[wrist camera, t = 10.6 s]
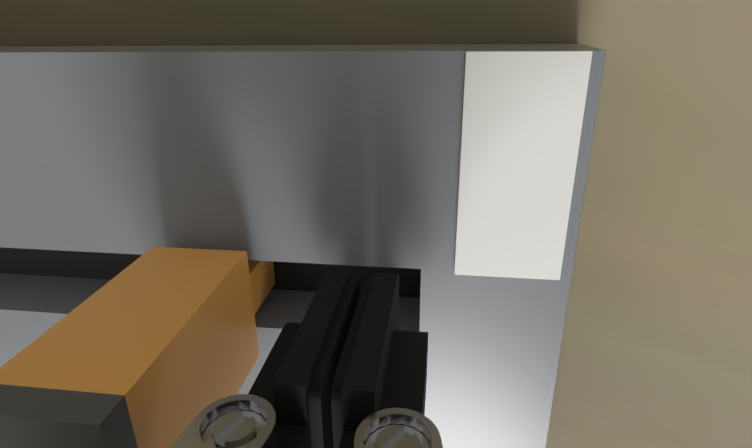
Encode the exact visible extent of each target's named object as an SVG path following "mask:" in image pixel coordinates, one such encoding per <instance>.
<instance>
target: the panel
mask: <svg viewBox="0 0 752 448" xmlns="http://www.w3.org/2000/svg"><path fill="white" fill-rule="evenodd" d="M605 55H606V50H602V49H598V48H594V47H590V46H586V45H582V44H578V43H564V44H357V45H150V46H0V368H1V367H2V366H3V365H4V364H6V363H7V362H8V361H9V360H11V359H12V358H13V357H14V356H16V355H17V354H18V353H19V352H21V351H22V350H23V349H25V348H26V347H27V346H28V345H30V344H31V343H32V342H33V341H35V340H36V339H37V338H38V337H40V336H41V335H42V334H43V333H45V332H46V331H47V330H48V329H50V328H51V327H52V326H54V325H55V324H56V323H57V322H59V321H60V320H61V319H62V318H64V317H65V316H66V315H67V314H69V313H70V312H71V311H72V310H74V309H75V308H76V307H77V306H79V305H80V304H81V303H83V302H84V301H85V300H86V299H88V298H89V297H90V296H91V295H93V294H94V293H95V292H96V291H98V290H99V289H100V288H101V287H103V286H104V285H105V284H107V283H108V282H109V281H110V280H112V279H113V278H114V277H115V276H117V275H118V274H119V273H120V272H122V271H123V270H124V269H125V268H127V267H128V266H129V265H130V264H132V263H133V262H134V261H136V260H137V259H138V258H139V257H141V256H142V255H143V254H144V253H146V252H147V251H148V250H149V249H151V248H152V247H171V248H192V249H212V250H232V251H247V257H248V260H255V261H273V265H274V275H275V284H274V286H273V287H272V289H271V290H270V292H269V294H268V295H267V297H266V298H265V300H264V301H263V303H262V304H261V306H260V308H259V309H258V311H257V312H256V314H255V323H256V331H257V339H258V348H259V356H258V358H257V360H256V361H255V363H254V365H253V367H252V369H251V370H250V372H249V374H248V376H247V378H246V379H245V381H244V383H243V385H242V387H241V388H240V390H239V392H238V394H248V393H249V391H250V389H251V387H252V385H253V384H254V382H255V380H256V378H257V376H258V374H259V372H260V370H261V368H262V367H263V365H264V363H265V361H266V359H267V357H268V355H269V353H270V351H271V349H272V348H273V346H274V344H275V342H276V340H277V338H278V336H279V334H280V332H281V331H282V329H283V327H284V325H285V324H286V323H288V322H291V323H301V322H302V320H303V318H304V316H305V314H306V312H307V310H308V308H309V306H310V303H311V301H312V299H313V297H314V295H315V293H316V291H317V289H318V287H319V285H320V283H321V280H322V278H323V276H324V274H325V272H326V271H327V270H337V271H351V274H352V277H353V278H359V280H360V294H361V291H362V288H363V284H364V281H365V279H366V278H371V279H373V277H374V274H375V273H391V274H399V330H405V331H419V332H428V357H427V380H426V399H425V414H424V416H426V417H427V418H429V419H430V420H431V421H432V422H433V423H434V424H435V426H436V427H437V428H438V431H439V433H440V436H441V440H442V445H443V448H545V446H546V439H547V433H548V426H549V420H550V413H551V407H552V400H553V394H554V387H555V381H556V374H557V368H558V361H559V355H560V348H561V342H562V335H563V329H564V322H565V316H566V309H567V303H568V296H569V290H570V283H571V277H572V270H573V264H574V257H575V251H576V244H577V238H578V231H579V225H580V218H581V212H582V205H583V199H584V192H585V185H586V179H587V172H588V166H589V159H590V153H591V146H592V140H593V133H594V127H595V120H596V114H597V107H598V101H599V94H600V88H601V81H602V75H603V68H604V62H605ZM238 394H237V395H238Z"/></svg>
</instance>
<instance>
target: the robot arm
mask: <svg viewBox="0 0 752 448" xmlns="http://www.w3.org/2000/svg"><path fill="white" fill-rule="evenodd" d="M427 357H428V332H419V331H405V330H399V274H391V273H375V274H374V277H373V279H371V278H366V279H365V281H364V284H363V288H362V291H361V294H360V280H359V278H353V277H352V274H351V271H337V270H327V271H326V272H325V274H324V276H323V278H322V280H321V283H320V285H319V287H318V289H317V291H316V293H315V295H314V297H313V299H312V301H311V303H310V306H309V308H308V310H307V312H306V314H305V316H304V318H303V320H302V322H301V323H291V322H288V323H286V324H285V325H284V327H283V329H282V331H281V332H280V334H279V336H278V338H277V340H276V342H275V344H274V346H273V348H272V349H271V351H270V353H269V355H268V357H267V359H266V361H265V363H264V365H263V367H262V368H261V370H260V372H259V374H258V376H257V378H256V380H255V382H254V384H253V385H252V387H251V389H250V391H249V393H248V394H238V395H231V396H227V397H224V398H221V399H218V400H216V401H215V402H213V403H211V404H209V405H208V406H206V407H205V408H204V409H203V410H202V411H201V412H200V413H199V414H197V416H196V417H195V418H194V419H193V420H192V422H191V423H190V424H189V425H188V426H187V428H186V429H185V430H184V431H183V432H182V433H181V435H180V436H179V437H178V438H177V439H176V441H175V442H174V443H173V444H172V445H171V447H170V448H443V445H442V440H441V436H440V433H439V431H438V428H437V427H436V426H435V424H434V423H433V422H432V421H431V420H430V419H429V418H427V417H426V416H424V414H425V399H426V380H427Z"/></svg>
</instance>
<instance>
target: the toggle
mask: <svg viewBox="0 0 752 448" xmlns="http://www.w3.org/2000/svg"><path fill="white" fill-rule="evenodd" d="M274 284H275V275H274V265H273V261H255V260H248V257H247V251H232V250H212V249H192V248H171V247H152V248H151V249H149V250H148V251H147V252H146V253H144V254H143V255H142V256H141V257H139V258H138V259H137V260H136V261H134V262H133V263H132V264H130V265H129V266H128V267H127V268H125V269H124V270H123V271H122V272H120V273H119V274H118V275H117V276H115V277H114V278H113V279H112V280H110V281H109V282H108V283H107V284H105V285H104V286H103V287H101V288H100V289H99V290H98V291H96V292H95V293H94V294H93V295H91V296H90V297H89V298H88V299H86V300H85V301H84V302H83V303H81V304H80V305H79V306H77V307H76V308H75V309H74V310H72V311H71V312H70V313H69V314H67V315H66V316H65V317H64V318H62V319H61V320H60V321H59V322H57V323H56V324H55V325H54V326H52V327H51V328H50V329H48V330H47V331H46V332H45V333H43V334H42V335H41V336H40V337H38V338H37V339H36V340H35V341H33V342H32V343H31V344H30V345H28V346H27V347H26V348H25V349H23V350H22V351H21V352H19V353H18V354H17V355H16V356H14V357H13V358H12V359H11V360H9V361H8V362H7V363H6V364H4V365H3V366H2V367H1V368H0V448H170V447H171V445H172V444H173V443H174V442H175V441H176V439H177V438H178V437H179V436H180V435H181V433H182V432H183V431H184V430H185V429H186V428H187V426H188V425H189V424H190V423H191V422H192V420H193V419H194V418H195V417H196V416H197V414H199V413H200V412H201V411H202V410H203V409H204V408H205V407H206V406H208V405H209V404H211V403H213V402H215V401H216V400H218V399H221V398H224V397H227V396H231V395H237V394H238V392H239V390H240V388H241V387H242V385H243V383H244V381H245V379H246V378H247V376H248V374H249V372H250V370H251V369H252V367H253V365H254V363H255V361H256V360H257V358H258V356H259V348H258V339H257V331H256V323H255V314H256V312H257V311H258V309H259V308H260V306H261V304H262V303H263V301H264V300H265V298H266V297H267V295H268V294H269V292H270V290H271V289H272V287H273V286H274Z"/></svg>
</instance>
